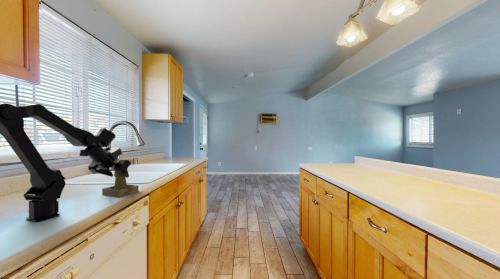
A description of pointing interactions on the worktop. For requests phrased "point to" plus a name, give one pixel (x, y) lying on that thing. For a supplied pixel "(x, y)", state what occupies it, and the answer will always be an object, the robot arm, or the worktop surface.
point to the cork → (119, 182)
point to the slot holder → (120, 191)
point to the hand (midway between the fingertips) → (120, 176)
